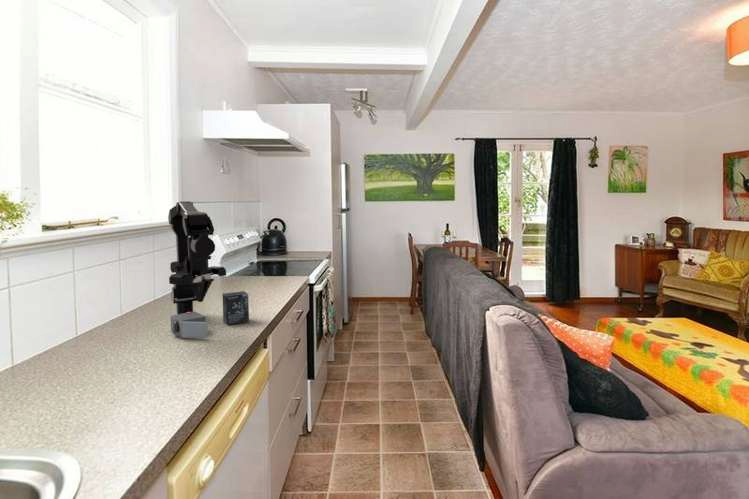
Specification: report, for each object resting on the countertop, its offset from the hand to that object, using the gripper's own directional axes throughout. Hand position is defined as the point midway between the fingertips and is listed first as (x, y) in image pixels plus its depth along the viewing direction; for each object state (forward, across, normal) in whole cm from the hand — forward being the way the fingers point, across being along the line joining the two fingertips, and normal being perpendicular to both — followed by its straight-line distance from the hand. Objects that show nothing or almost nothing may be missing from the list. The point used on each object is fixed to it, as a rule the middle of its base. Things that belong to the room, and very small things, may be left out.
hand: (200, 301), depth 136 cm
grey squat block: (+12, -2, -8) cm, 14 cm away
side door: (+11, +3, -1) cm, 11 cm away
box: (+12, -18, -1) cm, 21 cm away
